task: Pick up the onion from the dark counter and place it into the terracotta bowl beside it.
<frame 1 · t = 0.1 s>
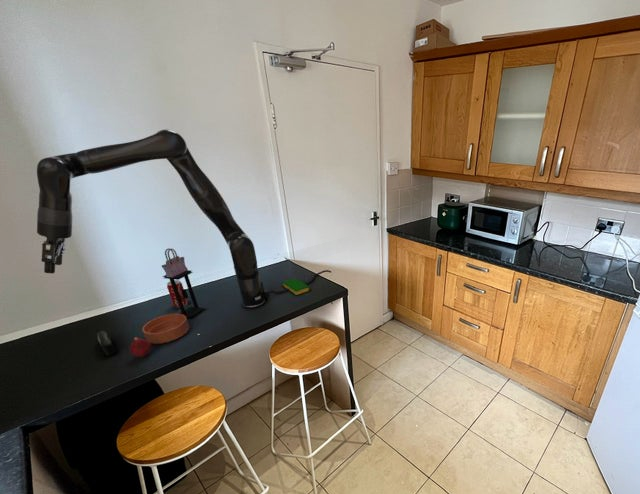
hand: (53, 268, 104), 31 cm above the countertop, tool tilted 20°, fingers open, 8 cm apart
dish sponge: (296, 288, 160), on the countertop
bowl: (169, 333, 124), on the countertop
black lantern: (191, 313, 138), on the countertop
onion: (144, 356, 112), on the countertop
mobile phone: (108, 347, 116), on the countertop
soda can: (181, 305, 144), on the countertop
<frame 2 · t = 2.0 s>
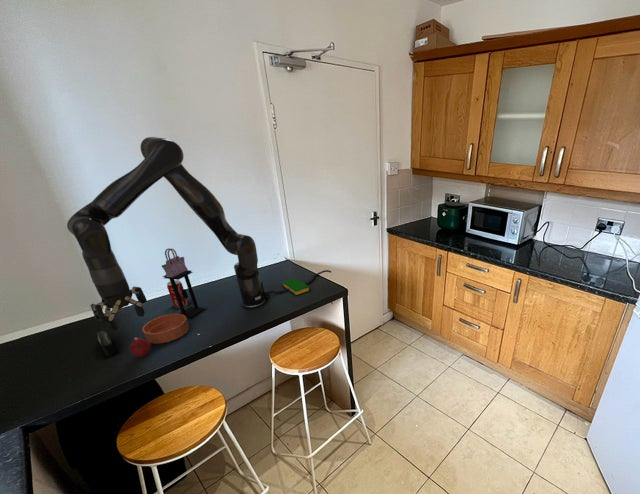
hand: (128, 322, 105), 14 cm above the countertop, tool pointing down, fingers open, 8 cm apart
nothing on the countertop moved.
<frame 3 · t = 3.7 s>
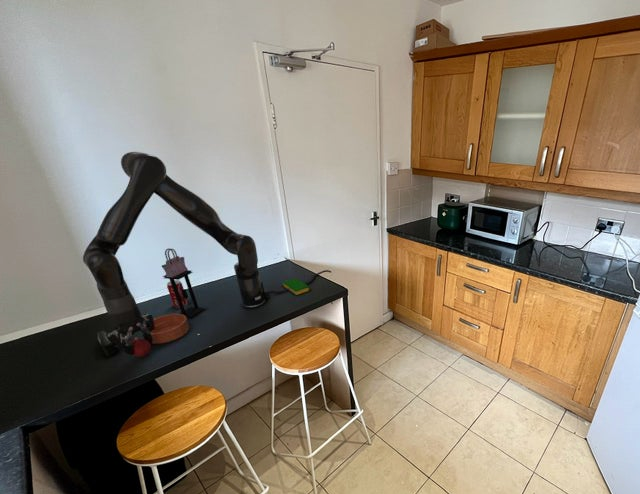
hand: (140, 348, 110), 4 cm above the countertop, tool pointing down, fingers closed on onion, 5 cm apart
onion: (144, 356, 112), on the countertop, touching gripper
everything else where it was.
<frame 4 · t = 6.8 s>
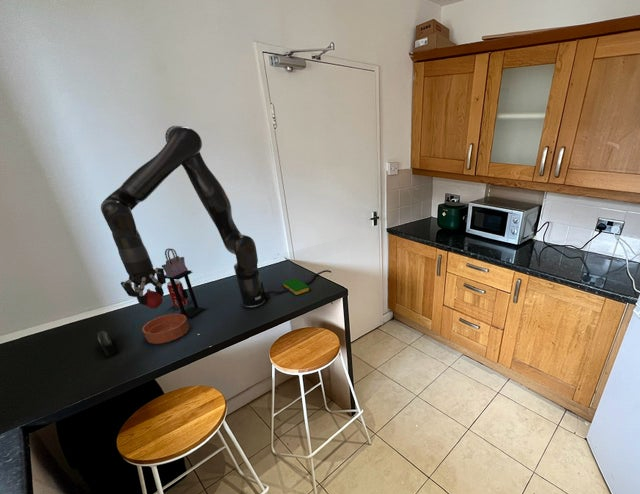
hand: (152, 300, 116), 16 cm above the countertop, tool pointing down, fingers closed on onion, 5 cm apart
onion: (156, 308, 117), point 12 cm above the countertop, touching gripper
everything else where it was.
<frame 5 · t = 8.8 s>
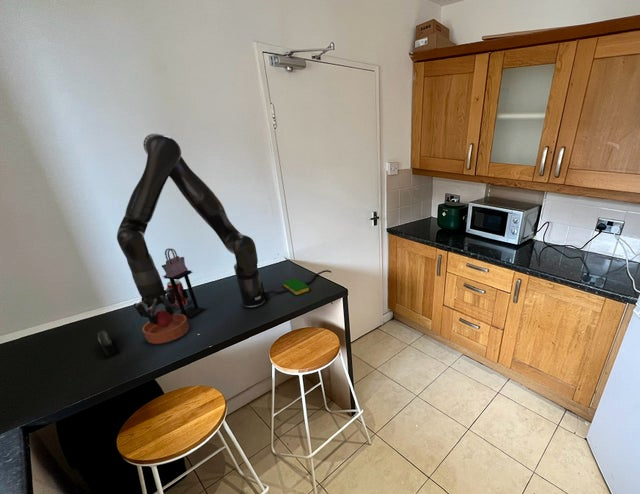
hand: (163, 319, 121), 7 cm above the countertop, tool pointing down, fingers closed on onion, 5 cm apart
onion: (166, 327, 122), point 3 cm above the countertop, touching gripper
everything else where it was.
when the fingers open (4 cm above the countertop, at t = 10.2 s): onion stays where it is, resting on bowl.
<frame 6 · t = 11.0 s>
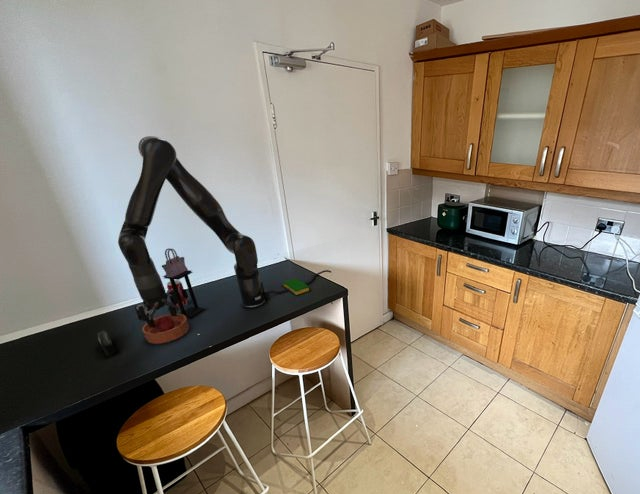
hand: (164, 321, 121), 6 cm above the countertop, tool pointing down, fingers open, 8 cm apart
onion: (168, 333, 124), resting on bowl
everything else where it was.
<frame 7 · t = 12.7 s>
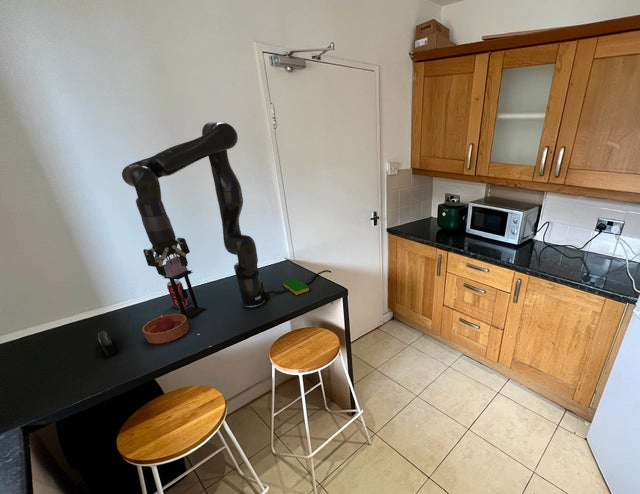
hand: (174, 270, 114), 27 cm above the countertop, tool pointing down, fingers open, 8 cm apart
nothing on the countertop moved.
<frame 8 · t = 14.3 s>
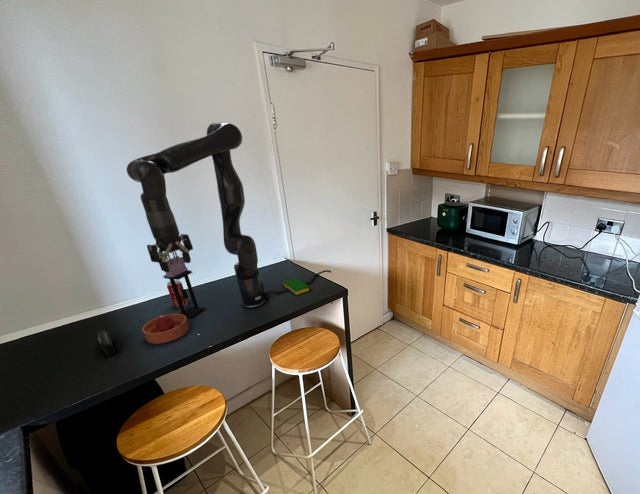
hand: (177, 266, 113), 28 cm above the countertop, tool pointing down, fingers open, 8 cm apart
nothing on the countertop moved.
at the end: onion inside the target area in the bowl (0.0 cm from its centre), point 0.4 cm above the bowl's base; the gripper is holding nothing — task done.
